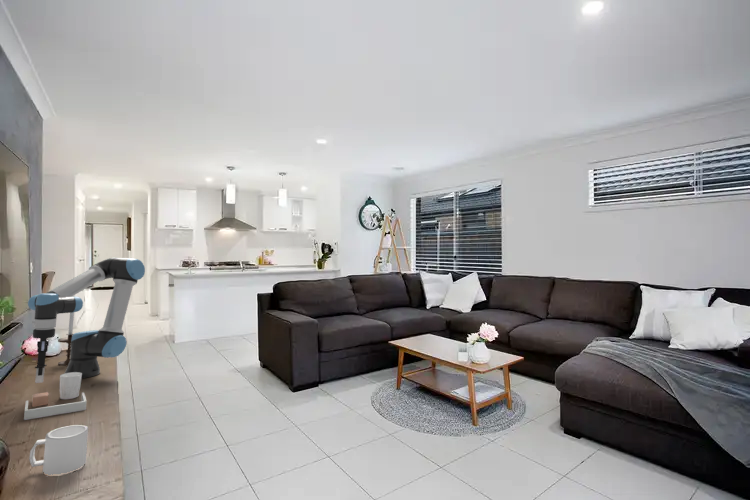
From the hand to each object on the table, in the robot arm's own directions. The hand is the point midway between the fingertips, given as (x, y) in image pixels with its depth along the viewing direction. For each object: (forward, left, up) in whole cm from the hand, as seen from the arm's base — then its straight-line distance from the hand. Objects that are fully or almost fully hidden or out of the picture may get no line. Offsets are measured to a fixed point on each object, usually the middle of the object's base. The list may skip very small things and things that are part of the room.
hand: (39, 382), depth 171 cm
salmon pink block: (+8, +1, -7) cm, 11 cm away
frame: (+19, +6, -7) cm, 21 cm away
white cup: (+4, +11, -8) cm, 14 cm away
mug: (+76, +6, -8) cm, 76 cm away
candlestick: (-63, +13, -8) cm, 65 cm away
